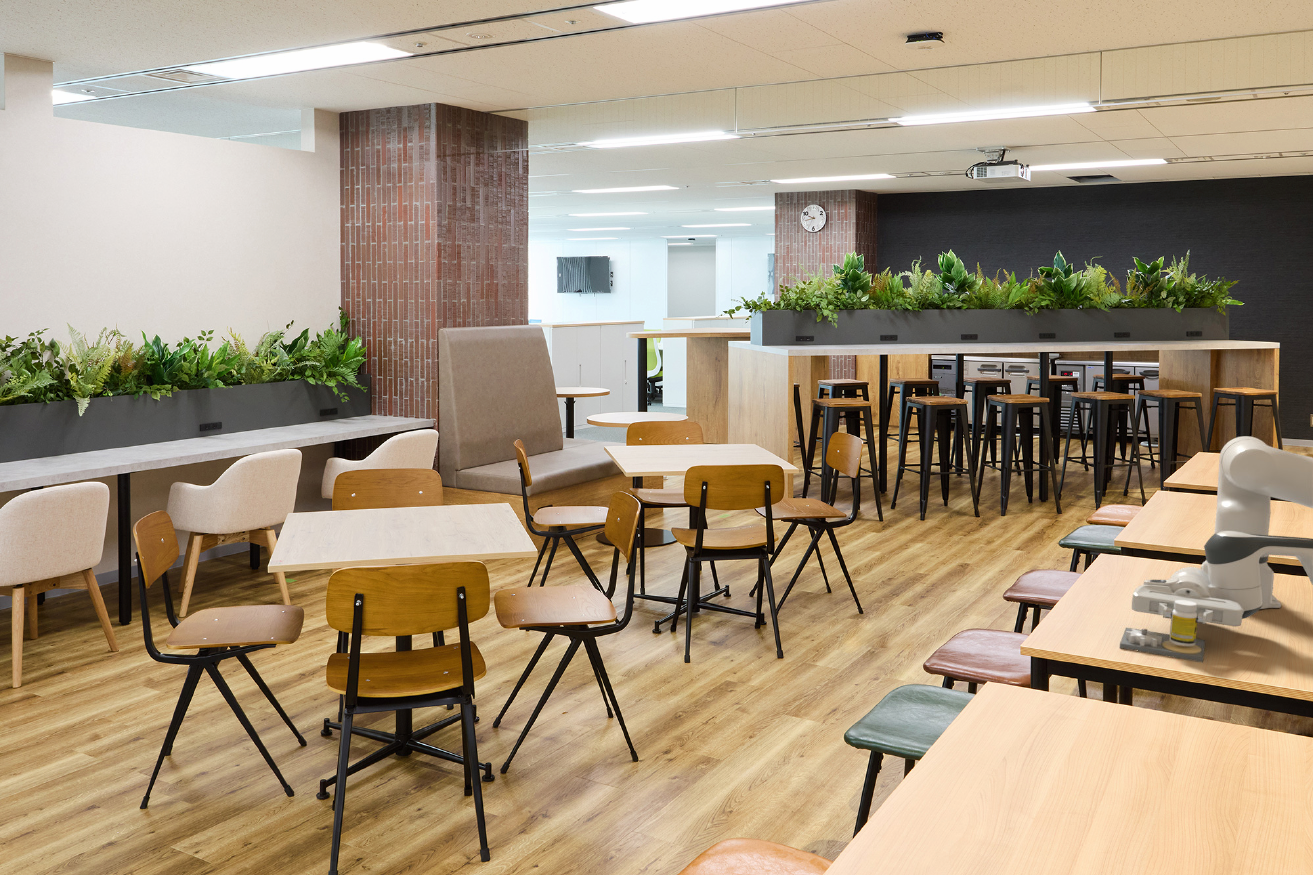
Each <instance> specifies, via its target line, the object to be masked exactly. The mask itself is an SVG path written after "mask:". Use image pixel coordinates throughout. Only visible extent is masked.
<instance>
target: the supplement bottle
mask: <svg viewBox="0 0 1313 875" xmlns="http://www.w3.org/2000/svg"><path fill="white" fill-rule="evenodd" d="M1174 608H1175V609H1174V610H1173V611H1172V613H1171V619H1170V627H1169V628H1170V629H1169V635H1170V636H1169V641H1170V642H1172V643H1173V644H1176V645H1180V646H1194V645H1195V642H1196V639H1197V631H1198V630H1197V628H1198V623H1197V620H1198V615H1197V613H1196V610H1197V604H1196V603H1195V602H1192V601H1187V600H1176V601H1175V603H1174Z"/></svg>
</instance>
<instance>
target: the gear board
mask: <svg viewBox="0 0 1313 875" xmlns="http://www.w3.org/2000/svg"><path fill="white" fill-rule="evenodd" d="M1169 636H1170V633H1169V634H1168V633H1162V632H1156V631H1150V630H1148V629H1145V628H1141V629H1137V628H1132V627H1125V630H1124V631H1123V634H1122V637H1121V640H1120V642H1119V649H1123V648H1125V649H1124V650H1128V649H1130V651H1134V650H1138V651H1137V652H1140V651H1141V653H1146V652H1149V653H1148V654H1152V655H1158V656H1163V657H1169V656H1170V657H1171V658H1176V659H1181V658H1182V660H1186V661H1187V660H1189V661H1194V662H1199V663H1203V662H1204V655H1205V654H1204V653H1205V646H1206V639H1200V638H1196V642H1195V645H1194V646H1180V645H1176V644H1173V643H1172V642H1170V641H1169Z"/></svg>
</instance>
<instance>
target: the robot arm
mask: <svg viewBox="0 0 1313 875" xmlns="http://www.w3.org/2000/svg"><path fill="white" fill-rule="evenodd" d="M1217 475H1218V478H1217V497H1216V498H1217V499H1216V513H1215V521H1214V523H1215V524H1214V525H1215V526H1214V534H1212V535H1211V536H1210V538H1209V539H1208V540H1207V541H1206V543H1205V544H1204V546H1203V547H1204V548H1203V550H1204V553H1205V554H1204V555H1205V558H1206V559H1205V561H1203V562H1202V564H1201V567H1200V568H1198V567H1197V566H1196V567H1194V566H1186V567H1182V568H1180V569H1178V570H1176V571H1175V572H1174V573H1173V574H1172V575H1171V577H1170V578H1169V579H1144V581H1143V584H1142V585H1139V586H1138V587H1136V588H1135V590H1134V591H1133V593H1132V600H1131V609H1132V610H1133V611H1134V612H1137V613H1145V614H1153V615H1157V616H1162V618H1164V619H1170V620H1171V613H1172V611H1173V610H1174V609H1175V608H1174V603H1175V601H1176V600H1187V601H1192V602H1195V603H1196V604H1197V610H1196V613H1197V615H1198V620H1197V624H1203V625H1206V623H1208V624H1216V625H1221V626H1230V627H1240V626H1242V623H1243V622H1242V621H1243V619H1247V618H1249V617H1251V616H1253V615H1254V614H1256V613H1257V612H1258V611H1260V610H1263V609H1269V608H1271V609H1274V608H1275V609H1278V608H1279V609H1280V608H1281V606H1282V604H1281V602H1280V600H1278V599H1277V598H1276V596H1275V595H1274V594H1273V593H1274V592H1273V591H1274V580H1275V579H1274V578H1275V572H1274V571H1273V569H1272V568H1271V567H1270V566H1269V565H1268V561H1269V556H1282V557H1283V556H1284V557H1285V556H1286V557H1295V558H1296V559H1297V560H1298V561H1299V563H1300V564H1301V566H1302V567H1303V569H1304V571H1305V572H1306V575H1307V577H1308V579H1309V581H1310V583H1311V585H1312V586H1313V538H1311V537H1310V538H1309V537H1308V538H1307V537H1298V536H1286V535H1285V536H1284V535H1269V531H1270V522H1271V513H1272V512H1271V498H1275V499H1278V500H1282V501H1287V502H1292V503H1294V504H1298V505H1301V506H1303V507H1308V508H1310V509H1313V457H1312V456H1307V455H1303V454H1299V453H1295V452H1291V451H1287V450H1285V449H1284V450H1283V449H1279V448H1276V447H1273V446H1270V445H1268V444H1266V443H1265V442H1264V441H1263V440H1261V439H1259V438H1257V437H1254V436H1247V435H1246V436H1237V437H1235V438H1233V439H1231V440H1229V441H1228V442H1227V443H1225V444H1224V446H1223V447H1222V449H1221V450H1220V453H1219V464H1218V474H1217Z"/></svg>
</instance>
